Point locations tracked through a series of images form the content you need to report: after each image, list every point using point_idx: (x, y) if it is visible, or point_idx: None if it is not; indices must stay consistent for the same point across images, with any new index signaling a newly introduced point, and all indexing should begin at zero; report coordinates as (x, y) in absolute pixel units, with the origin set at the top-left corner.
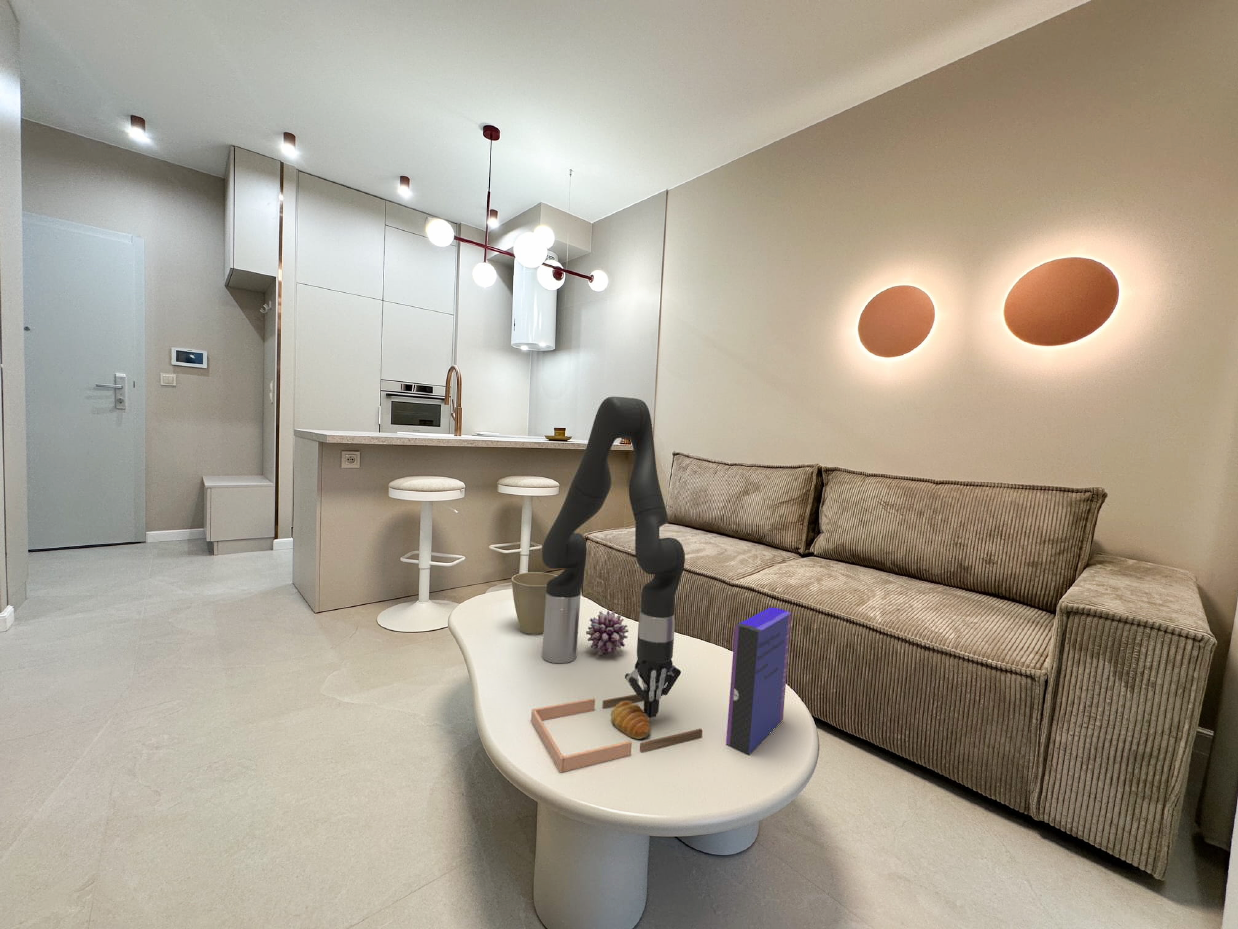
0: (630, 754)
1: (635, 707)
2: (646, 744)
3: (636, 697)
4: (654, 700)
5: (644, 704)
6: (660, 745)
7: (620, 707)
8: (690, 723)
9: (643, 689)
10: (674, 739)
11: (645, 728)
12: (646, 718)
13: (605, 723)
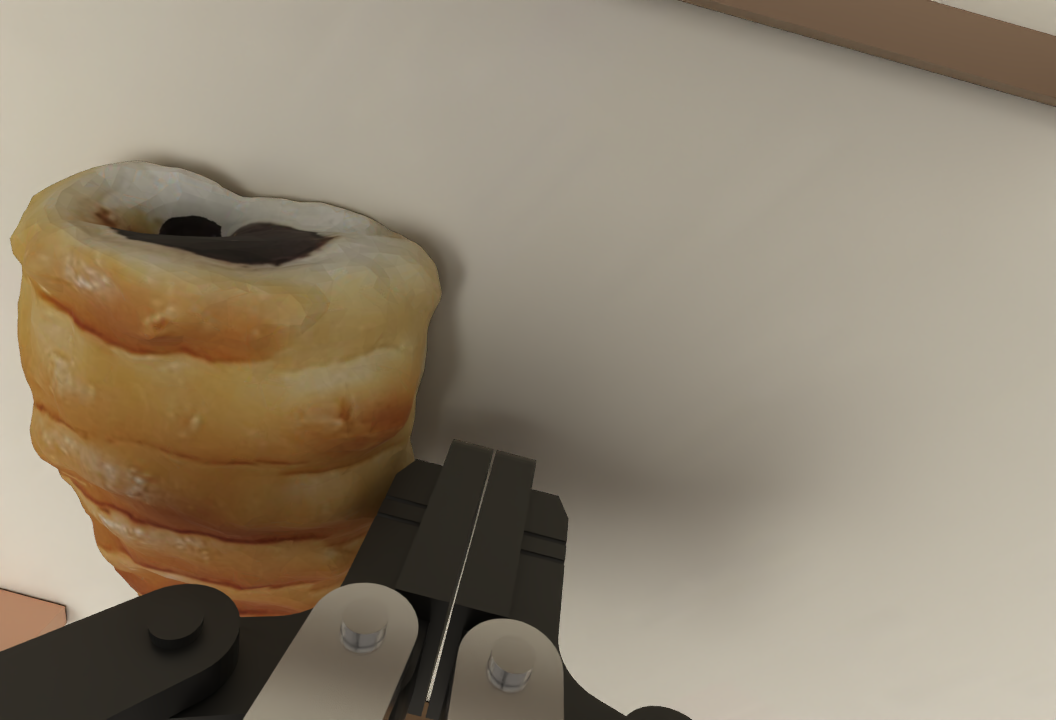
0: (58, 626)
1: (251, 467)
2: None
3: (712, 2)
4: (431, 709)
5: (368, 538)
6: None
7: (69, 325)
8: (807, 662)
9: (260, 699)
10: None
11: None
12: (324, 579)
13: (29, 183)
